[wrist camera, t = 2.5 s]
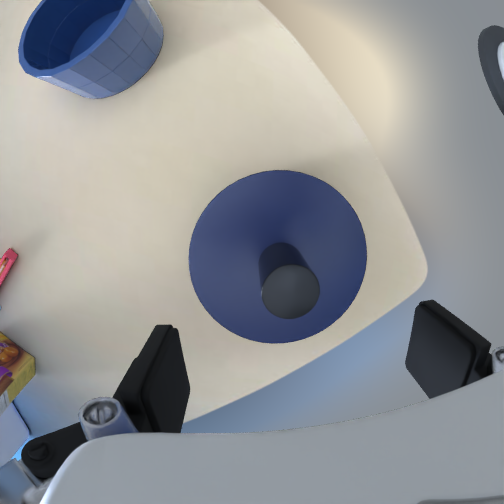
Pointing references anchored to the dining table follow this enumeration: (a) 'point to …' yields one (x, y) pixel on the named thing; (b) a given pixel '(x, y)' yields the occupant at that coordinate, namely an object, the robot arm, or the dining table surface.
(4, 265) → the red slotted bar
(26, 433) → the plastic bottle
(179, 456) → the robot arm
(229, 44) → the dining table surface
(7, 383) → the candy box
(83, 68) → the pot
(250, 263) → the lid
